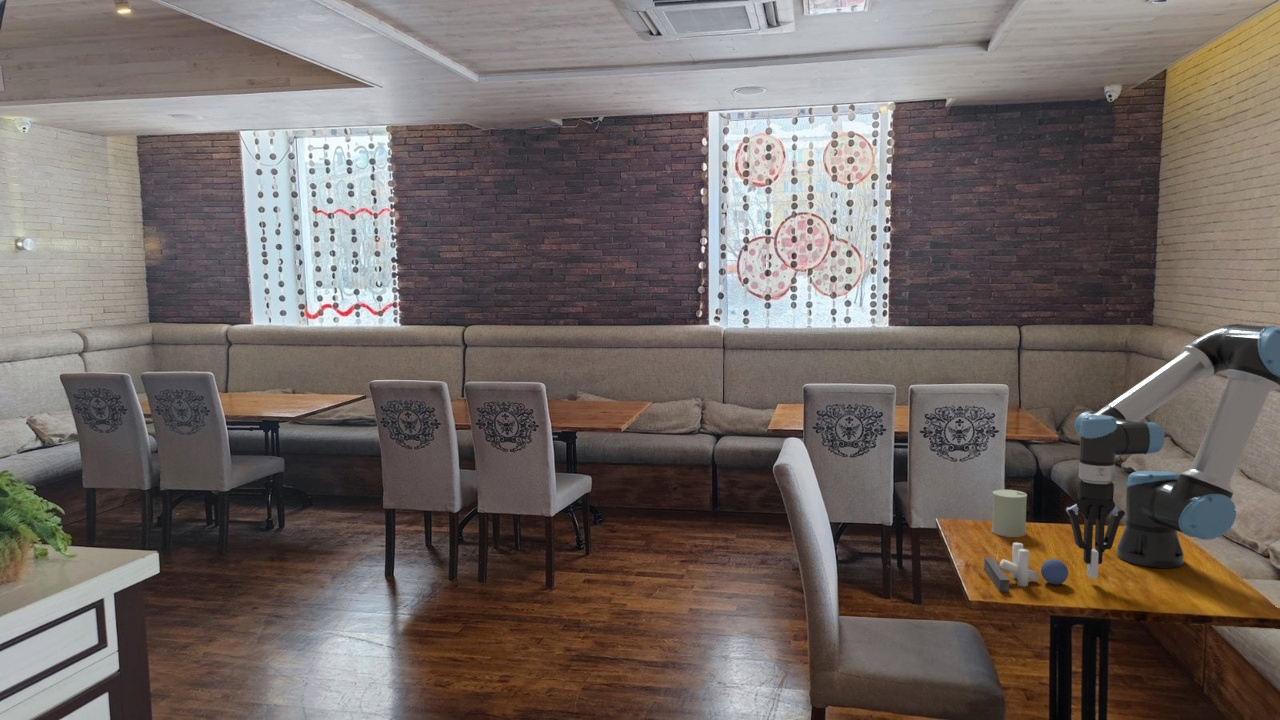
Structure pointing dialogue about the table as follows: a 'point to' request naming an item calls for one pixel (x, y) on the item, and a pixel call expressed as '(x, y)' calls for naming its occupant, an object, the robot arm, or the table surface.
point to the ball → (1054, 571)
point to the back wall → (996, 575)
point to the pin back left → (1023, 567)
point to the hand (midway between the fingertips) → (1092, 576)
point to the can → (1009, 513)
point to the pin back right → (1016, 555)
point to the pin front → (1014, 569)
